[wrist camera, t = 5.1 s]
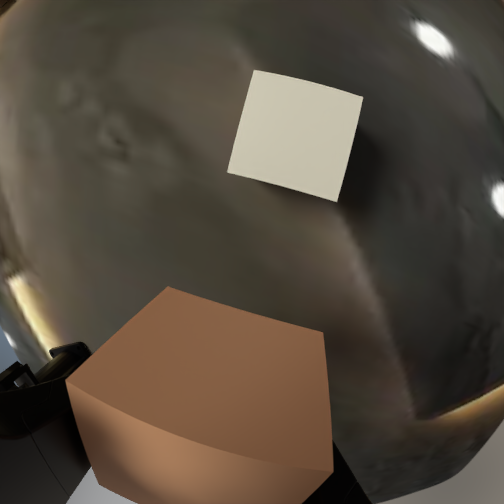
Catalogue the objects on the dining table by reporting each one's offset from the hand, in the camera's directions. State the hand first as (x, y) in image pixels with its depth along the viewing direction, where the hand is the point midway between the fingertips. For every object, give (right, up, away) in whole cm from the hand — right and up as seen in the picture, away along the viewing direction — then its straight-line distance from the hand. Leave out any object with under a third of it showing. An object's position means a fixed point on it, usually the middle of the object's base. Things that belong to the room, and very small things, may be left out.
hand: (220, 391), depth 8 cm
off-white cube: (+4, +11, +8) cm, 14 cm away
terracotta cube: (0, 0, +1) cm, 1 cm away
